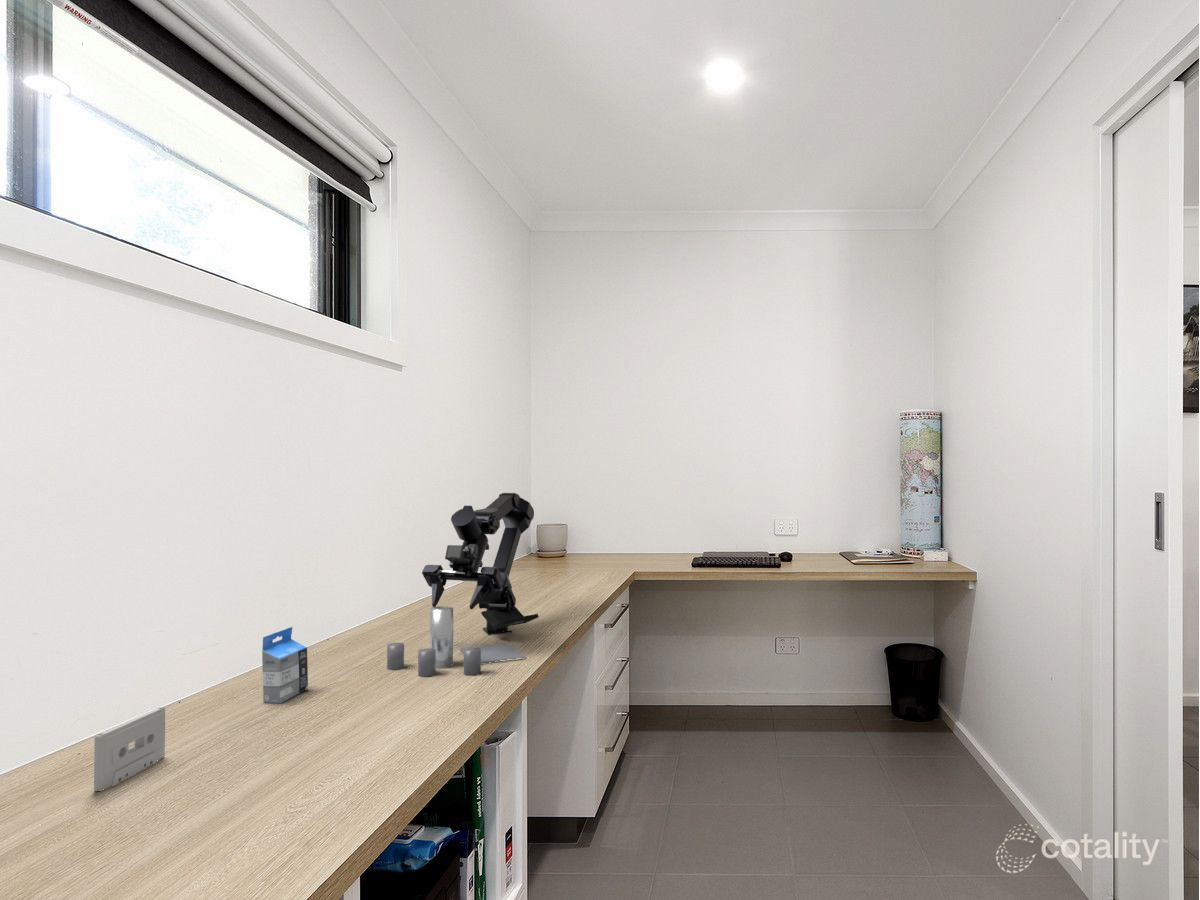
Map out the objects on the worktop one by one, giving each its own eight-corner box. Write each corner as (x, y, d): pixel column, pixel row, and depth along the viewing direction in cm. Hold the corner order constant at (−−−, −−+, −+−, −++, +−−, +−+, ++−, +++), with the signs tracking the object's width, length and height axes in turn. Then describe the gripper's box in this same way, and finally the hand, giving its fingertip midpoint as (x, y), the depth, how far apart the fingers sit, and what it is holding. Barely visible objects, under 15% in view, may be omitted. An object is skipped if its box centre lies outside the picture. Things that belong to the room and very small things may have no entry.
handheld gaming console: (504, 634, 178) (505, 620, 178) (479, 625, 186) (480, 611, 186) (538, 627, 186) (539, 613, 186) (513, 618, 193) (514, 605, 193)
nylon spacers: (392, 664, 160) (392, 642, 160) (483, 671, 155) (483, 647, 155) (376, 673, 153) (376, 649, 154) (470, 680, 148) (470, 655, 148)
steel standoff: (428, 663, 161) (428, 607, 161) (450, 661, 163) (450, 605, 163) (432, 669, 156) (432, 611, 156) (455, 667, 158) (455, 609, 158)
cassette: (157, 757, 110) (157, 706, 110) (168, 757, 110) (168, 707, 110) (90, 792, 98) (90, 735, 98) (102, 793, 98) (102, 736, 98)
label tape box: (280, 704, 134) (280, 637, 134) (261, 703, 135) (261, 636, 135) (308, 689, 142) (309, 627, 143) (290, 688, 143) (290, 626, 143)
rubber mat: (460, 649, 173) (460, 647, 173) (508, 644, 177) (508, 642, 177) (473, 664, 160) (473, 662, 160) (525, 659, 164) (525, 656, 164)
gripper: (425, 530, 173) (402, 584, 162) (499, 532, 168) (480, 587, 157) (440, 559, 180) (419, 613, 169) (510, 562, 176) (493, 616, 165)
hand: (451, 607), depth 165 cm, fingers open, 9 cm apart
